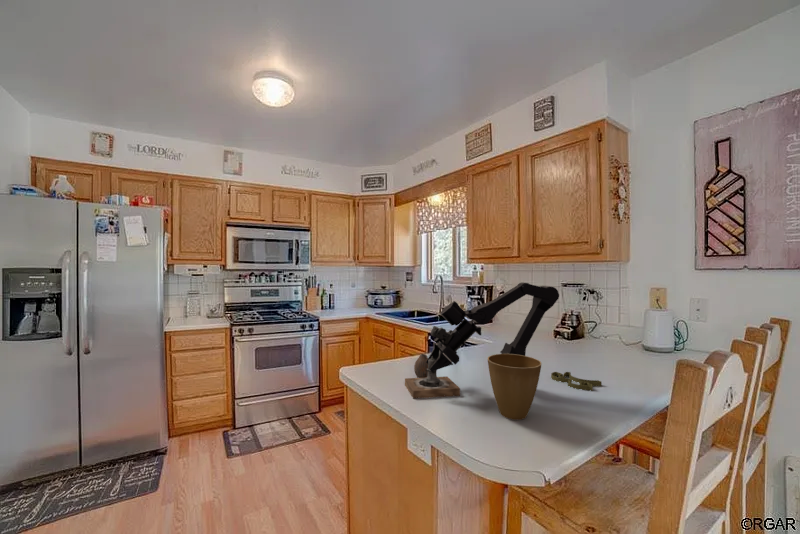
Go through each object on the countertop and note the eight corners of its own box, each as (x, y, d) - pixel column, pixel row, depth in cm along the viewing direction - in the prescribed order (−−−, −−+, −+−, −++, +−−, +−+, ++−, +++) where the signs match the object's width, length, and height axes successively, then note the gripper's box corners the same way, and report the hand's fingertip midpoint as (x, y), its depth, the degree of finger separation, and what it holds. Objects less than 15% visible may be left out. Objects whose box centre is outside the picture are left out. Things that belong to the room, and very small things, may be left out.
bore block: (447, 383, 129) (447, 376, 129) (459, 395, 116) (460, 388, 116) (404, 385, 126) (404, 378, 126) (413, 398, 113) (413, 390, 113)
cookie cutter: (607, 388, 127) (607, 383, 127) (586, 393, 121) (586, 388, 121) (563, 375, 143) (563, 370, 143) (543, 379, 137) (543, 374, 137)
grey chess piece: (435, 394, 117) (435, 358, 117) (420, 391, 120) (420, 356, 121) (443, 389, 122) (443, 355, 122) (428, 386, 125) (429, 353, 125)
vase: (432, 380, 133) (432, 357, 133) (414, 379, 133) (414, 356, 133) (431, 374, 140) (431, 352, 140) (413, 374, 140) (414, 352, 140)
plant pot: (476, 410, 104) (476, 356, 104) (511, 401, 112) (512, 351, 112) (515, 431, 91) (515, 369, 91) (552, 419, 99) (553, 362, 99)
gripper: (439, 314, 131) (410, 344, 130) (449, 322, 112) (415, 357, 112) (460, 336, 131) (431, 365, 131) (473, 347, 113) (439, 381, 112)
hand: (428, 366), depth 121 cm, fingers open, 9 cm apart
